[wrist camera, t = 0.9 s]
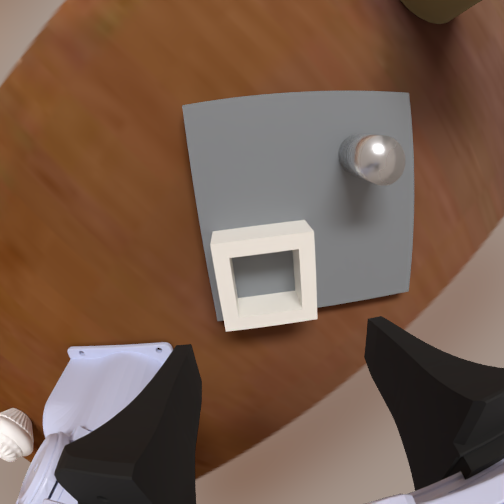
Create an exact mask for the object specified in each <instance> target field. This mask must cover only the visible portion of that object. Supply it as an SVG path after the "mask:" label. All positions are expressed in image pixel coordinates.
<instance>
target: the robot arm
mask: <svg viewBox="0 0 504 504" xmlns="http://www.w3.org/2000/svg"><path fill="white" fill-rule="evenodd" d="M157 348H161V349H162V350H158V349H157ZM81 351H82V352H84V353H82V352H81ZM68 354H69V356H70V359H71V360H70V361H69V363H68V365H67V366H66V368H65V370H64V372H63V373H62V375H61V377H60V379H59V380H58V382H57V384H56V386H55V388H54V389H53V391H52V393H51V395H50V397H49V398H48V400H47V403H46V405H45V408H44V414H43V430H44V435H45V440H44V441H43V443H42V444H41V446H40V447H39V449H38V451H37V453H36V454H35V456H34V458H33V460H32V462H31V464H30V467H29V469H28V471H27V473H26V475H25V478H24V481H23V484H22V486H21V490H20V494H19V497H18V499H17V502H16V504H196V493H195V448H196V440H197V432H198V425H199V418H200V410H201V402H202V381H201V377H200V374H199V370H198V367H197V363H196V360H195V356H194V353H193V349H192V345H191V344H189V345H177V346H176V347H175V348H174V350H173V348H172V346H171V344H169V343H167V342H160V343H145V344H129V345H108V346H75V347H70V348H69V349H68ZM364 357H365V360H366V363H367V366H368V368H369V371H370V374H371V376H372V378H373V380H374V382H375V384H376V386H377V388H378V390H379V391H380V393H381V395H382V397H383V399H384V401H385V403H386V404H387V406H388V408H389V410H390V412H391V414H392V416H393V418H394V420H395V423H396V425H397V428H398V431H399V434H400V436H401V439H402V442H403V445H404V449H405V452H406V455H407V458H408V462H409V466H410V469H411V473H412V478H413V482H414V487H415V491H414V492H411V493H409V494H398V495H393V496H389V497H385V498H382V499H379V500H376V501H373V502H369V503H366V504H504V368H497V367H492V366H486V365H482V364H478V363H474V362H471V361H467V360H464V359H461V358H458V357H456V356H453V355H451V354H448V353H446V352H443V351H441V350H439V349H437V348H435V347H433V346H431V345H429V344H427V343H425V342H423V341H421V340H420V339H418V338H416V337H415V336H413V335H411V334H410V333H408V332H406V331H405V330H403V329H401V328H400V327H398V326H397V325H395V324H393V323H392V322H390V321H389V320H387V319H385V318H383V317H382V316H380V317H375V318H370V319H368V324H367V336H366V347H365V356H364Z"/></svg>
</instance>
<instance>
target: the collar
mask: <svg viewBox="0 0 504 504" xmlns="http://www.w3.org/2000/svg"><path fill="white" fill-rule="evenodd" d="M210 247H211V253H212V258H213V264H214V270H215V275H216V281H217V287H218V292H219V298H220V303H221V308H222V314H223V319H224V324H225V329H226V332H227V331H236V330H244V329H252V328H260V327H267V326H274V325H282V324H288V323H295V322H302V321H308V320H314V319H317V287H316V261H315V240H314V231H313V229H312V228H311V227H310V226H309V224H308V223H307V222H306V221H305V220H299V221H290V222H282V223H274V224H266V225H258V226H250V227H242V228H235V229H227V230H220V231H213V232H212V238H211V243H210ZM288 250H293V263H294V278H295V291H288V292H280V293H273V294H266V295H258V296H250V297H243V298H238V296H237V289H236V283H235V276H234V270H233V263H232V258H234V257H242V256H250V255H257V254H265V253H273V252H280V251H288Z"/></svg>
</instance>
